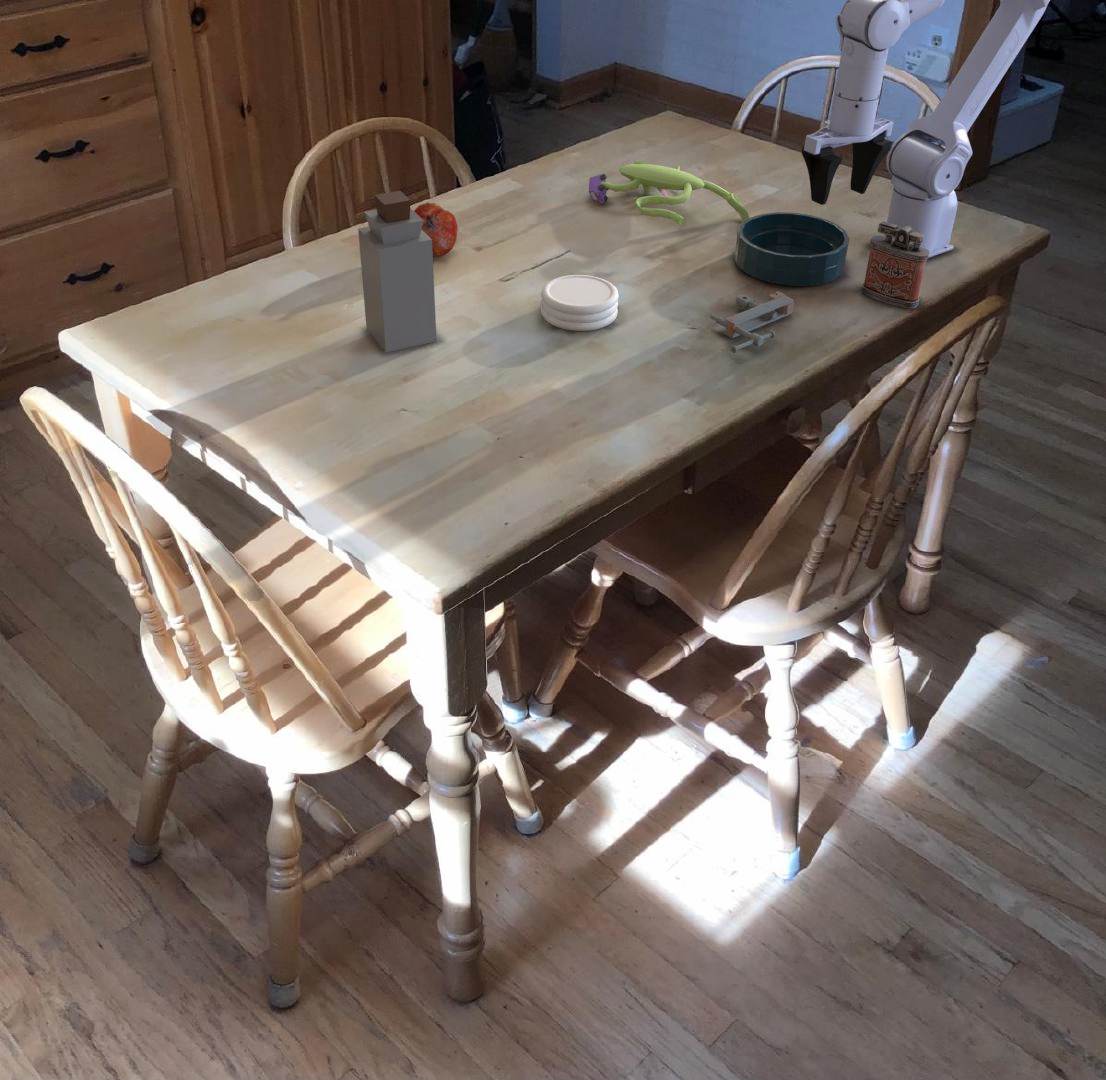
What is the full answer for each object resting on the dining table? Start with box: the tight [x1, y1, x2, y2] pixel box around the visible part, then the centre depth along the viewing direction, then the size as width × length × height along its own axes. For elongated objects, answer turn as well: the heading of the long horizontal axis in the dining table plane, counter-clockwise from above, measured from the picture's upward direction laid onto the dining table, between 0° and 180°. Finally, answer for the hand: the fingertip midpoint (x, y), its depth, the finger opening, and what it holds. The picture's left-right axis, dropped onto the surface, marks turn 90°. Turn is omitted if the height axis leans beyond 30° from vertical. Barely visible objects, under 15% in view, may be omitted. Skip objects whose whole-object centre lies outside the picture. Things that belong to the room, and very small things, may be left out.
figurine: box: [588, 159, 750, 227], centre depth 186 cm, size 18×27×6 cm
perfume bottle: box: [357, 190, 438, 353], centre depth 148 cm, size 7×7×18 cm
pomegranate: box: [413, 202, 459, 257], centre depth 172 cm, size 7×7×10 cm
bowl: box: [734, 211, 850, 287], centre depth 171 cm, size 15×15×4 cm
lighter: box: [860, 220, 929, 309], centre depth 162 cm, size 8×3×10 cm, turn 51°
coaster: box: [540, 274, 620, 332], centre depth 158 cm, size 10×10×4 cm
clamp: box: [709, 291, 795, 354], centre depth 156 cm, size 15×2×10 cm
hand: (838, 196), depth 165 cm, fingers open, 7 cm apart
